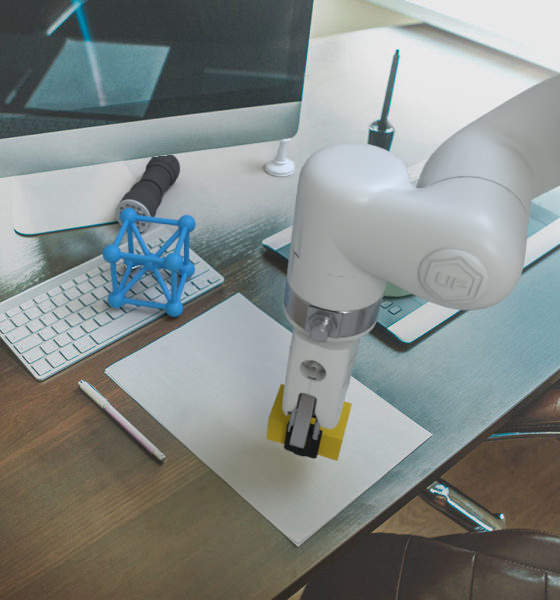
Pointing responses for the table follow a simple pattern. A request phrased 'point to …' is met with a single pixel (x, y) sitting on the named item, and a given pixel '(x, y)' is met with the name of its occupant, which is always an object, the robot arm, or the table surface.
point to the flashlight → (150, 189)
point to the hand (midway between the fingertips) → (307, 429)
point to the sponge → (329, 438)
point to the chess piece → (280, 162)
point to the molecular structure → (151, 261)
